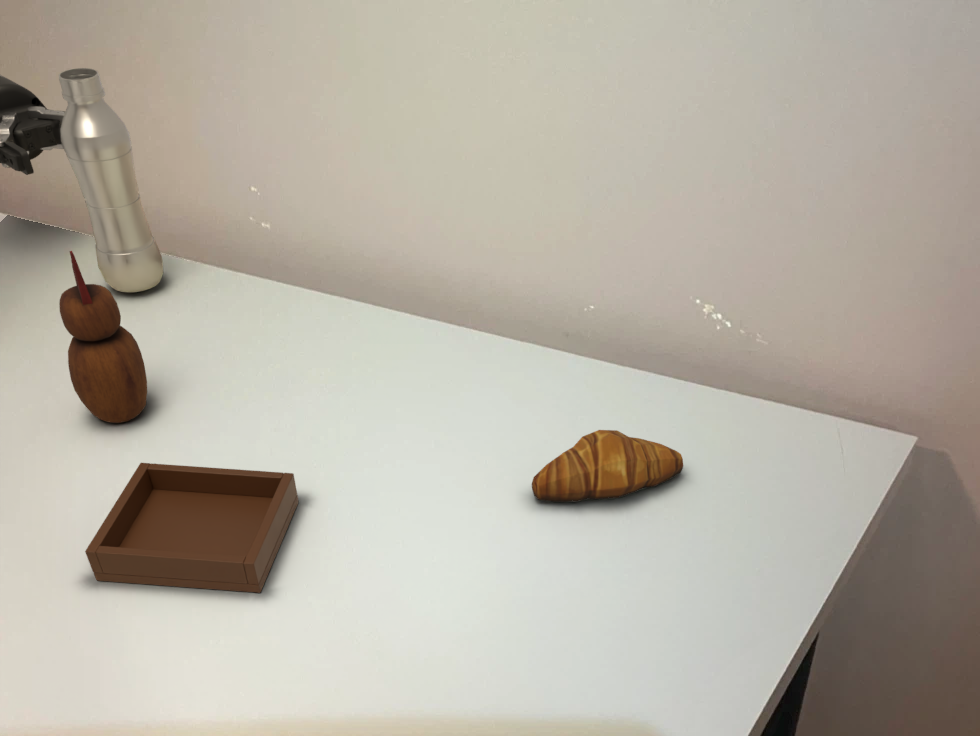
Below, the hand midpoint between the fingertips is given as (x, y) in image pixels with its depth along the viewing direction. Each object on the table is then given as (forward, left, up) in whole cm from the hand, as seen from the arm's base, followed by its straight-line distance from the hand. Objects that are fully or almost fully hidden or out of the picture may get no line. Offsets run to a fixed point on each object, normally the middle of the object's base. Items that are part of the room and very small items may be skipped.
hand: (67, 153), depth 105 cm
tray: (+27, -47, -11) cm, 55 cm away
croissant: (+58, -36, -11) cm, 69 cm away
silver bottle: (+6, -5, -11) cm, 14 cm away
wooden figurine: (+14, -30, -11) cm, 35 cm away
